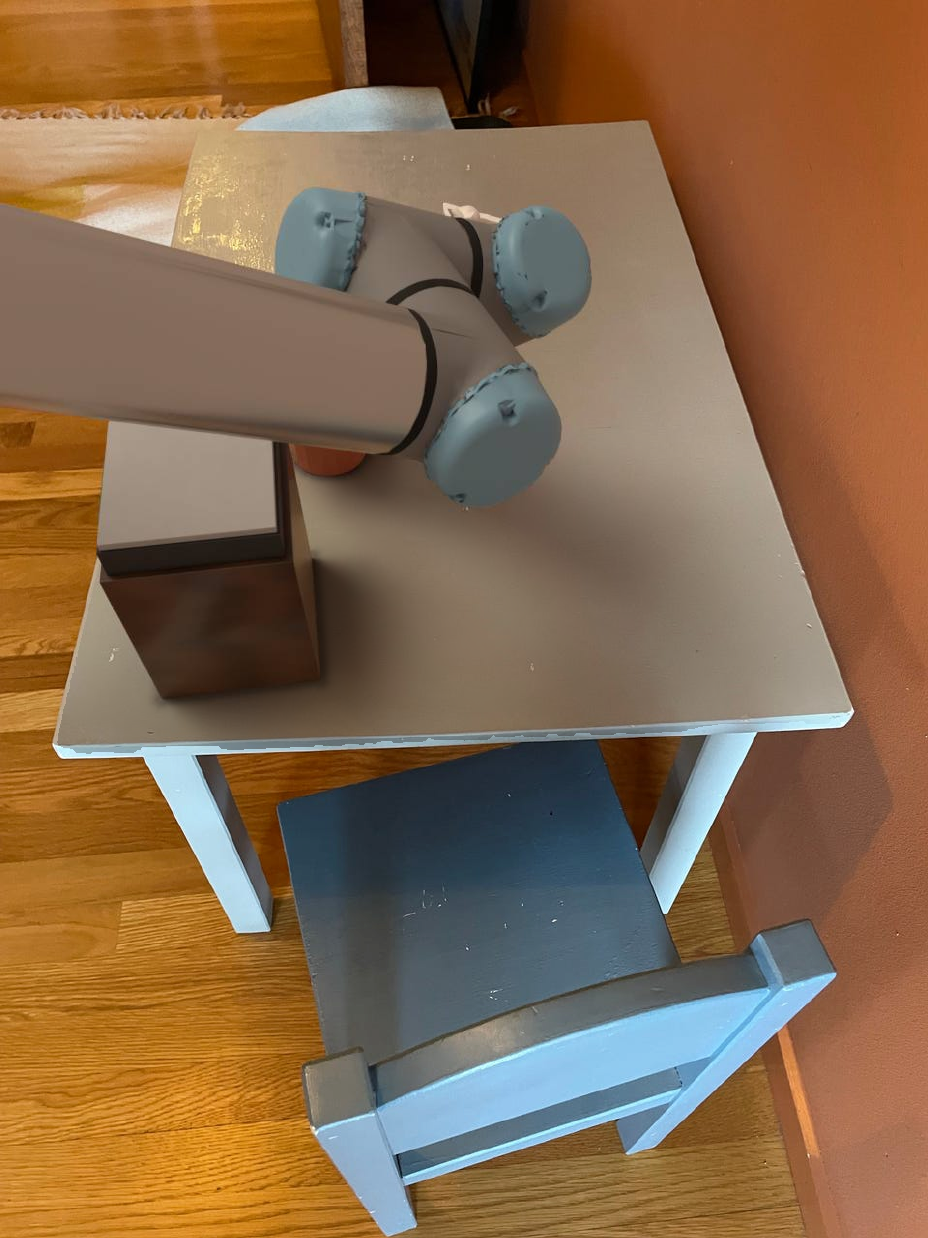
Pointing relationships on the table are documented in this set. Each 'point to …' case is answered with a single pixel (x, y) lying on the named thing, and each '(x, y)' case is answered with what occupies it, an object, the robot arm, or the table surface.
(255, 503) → the scale
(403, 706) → the table surface
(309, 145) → the table surface
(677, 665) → the table surface
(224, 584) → the stand
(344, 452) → the cup
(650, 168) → the table surface
